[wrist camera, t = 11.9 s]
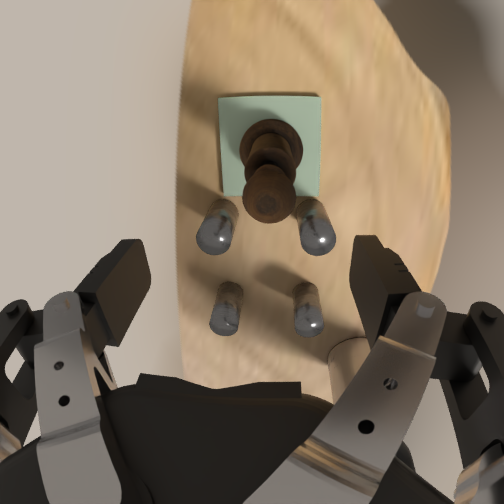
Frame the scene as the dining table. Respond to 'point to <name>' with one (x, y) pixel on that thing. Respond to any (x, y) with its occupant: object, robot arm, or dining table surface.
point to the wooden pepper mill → (270, 169)
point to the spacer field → (230, 294)
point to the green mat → (270, 107)
